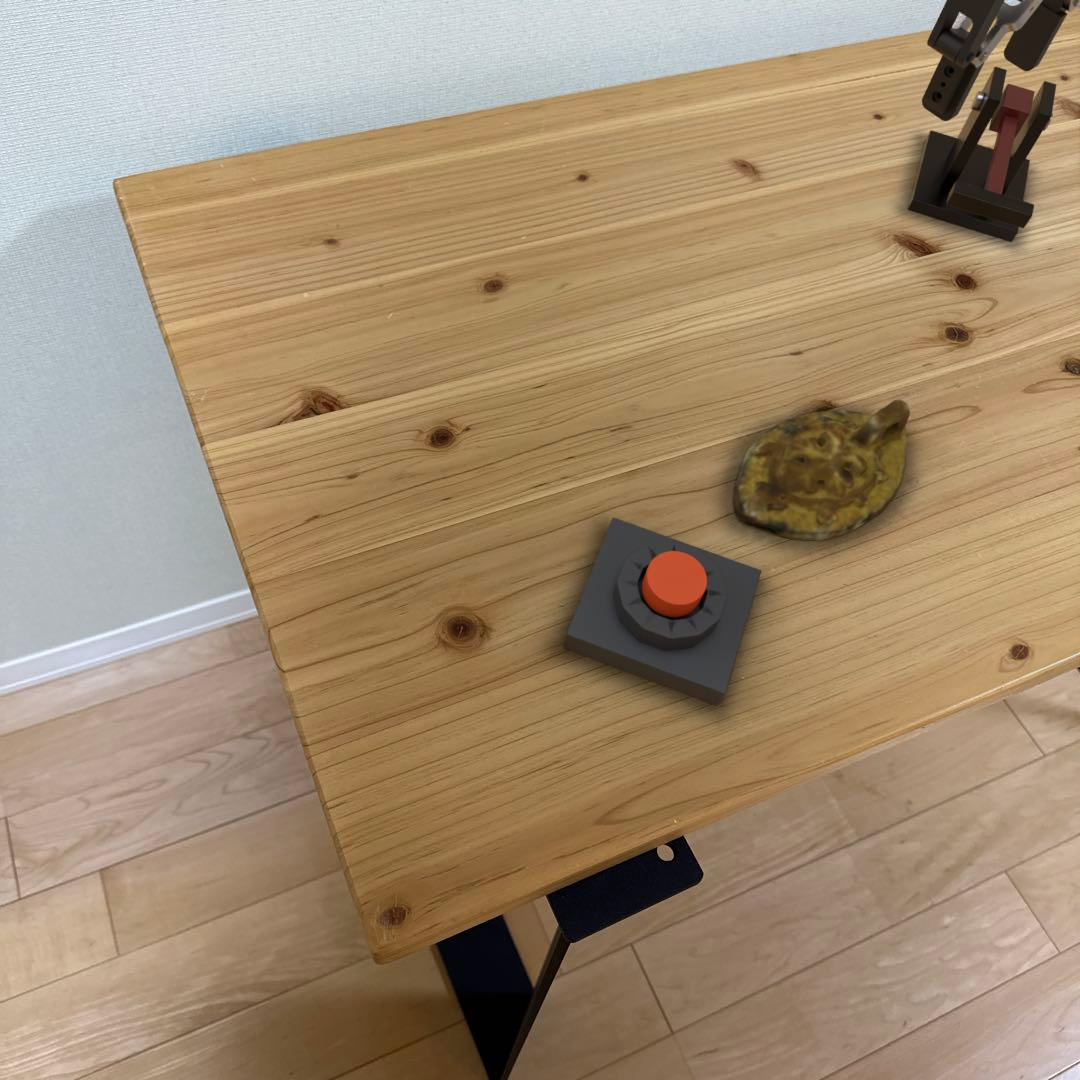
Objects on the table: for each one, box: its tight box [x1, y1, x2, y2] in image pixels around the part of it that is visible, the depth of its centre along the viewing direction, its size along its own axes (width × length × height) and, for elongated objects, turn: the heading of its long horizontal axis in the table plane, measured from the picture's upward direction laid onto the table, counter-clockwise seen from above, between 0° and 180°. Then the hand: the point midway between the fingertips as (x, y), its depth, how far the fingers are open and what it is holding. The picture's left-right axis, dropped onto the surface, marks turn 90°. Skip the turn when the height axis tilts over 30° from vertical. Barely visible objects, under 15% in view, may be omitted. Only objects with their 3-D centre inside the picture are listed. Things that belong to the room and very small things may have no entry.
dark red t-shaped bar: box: [947, 83, 1036, 229], centre depth 76 cm, size 13×6×2 cm, turn 160°
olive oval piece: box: [733, 398, 911, 541], centre depth 67 cm, size 9×5×15 cm
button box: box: [562, 517, 762, 707], centre depth 60 cm, size 10×9×4 cm
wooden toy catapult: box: [907, 66, 1057, 243], centre depth 81 cm, size 10×9×10 cm
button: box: [642, 551, 707, 617], centre depth 58 cm, size 4×4×2 cm
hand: (978, 87), depth 60 cm, fingers open, 8 cm apart
